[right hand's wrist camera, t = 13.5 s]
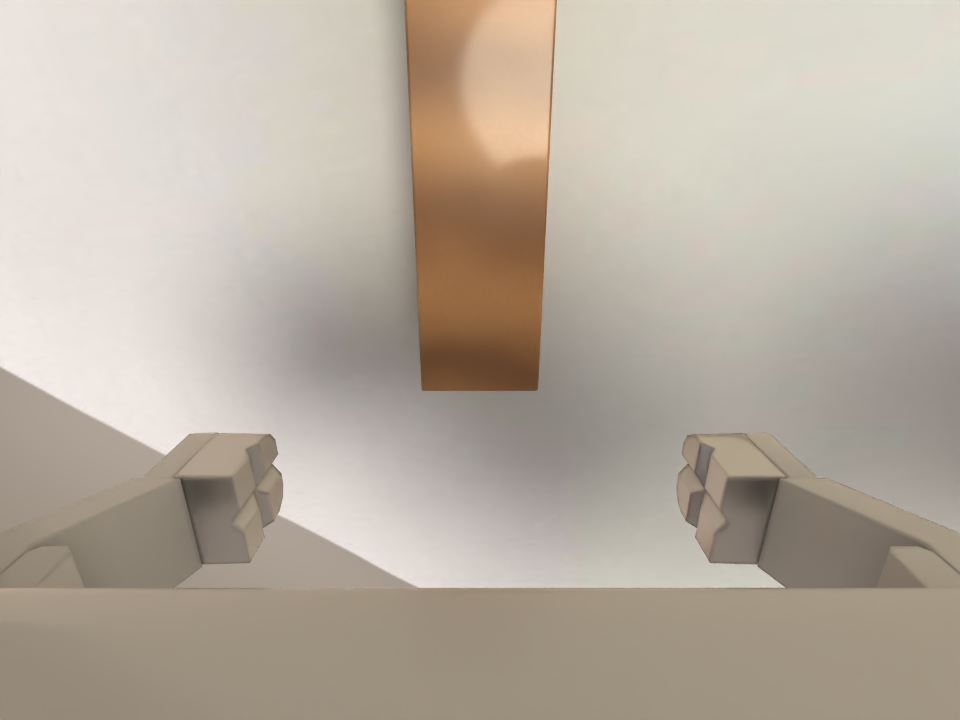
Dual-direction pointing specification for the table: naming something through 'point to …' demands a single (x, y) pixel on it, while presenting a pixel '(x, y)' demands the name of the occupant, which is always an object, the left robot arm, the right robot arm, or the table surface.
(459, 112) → the bar
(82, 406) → the table surface
